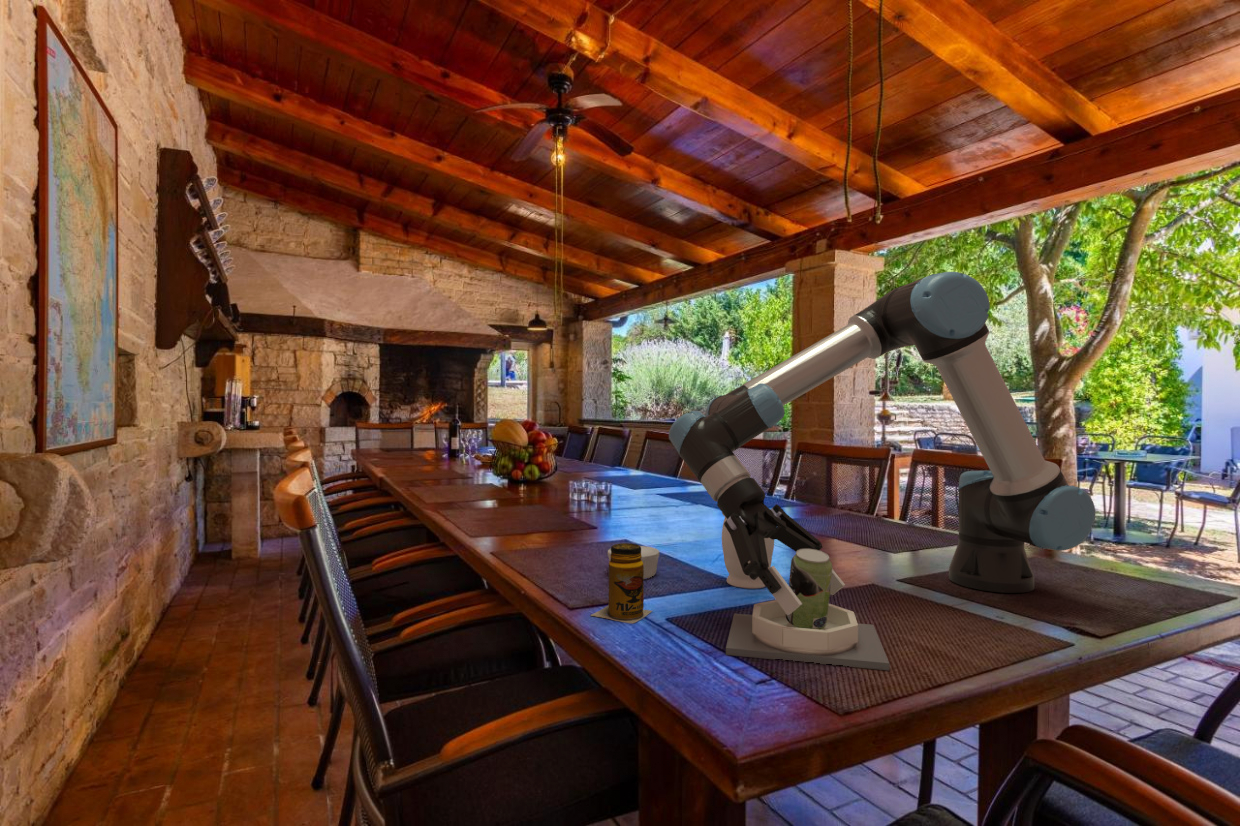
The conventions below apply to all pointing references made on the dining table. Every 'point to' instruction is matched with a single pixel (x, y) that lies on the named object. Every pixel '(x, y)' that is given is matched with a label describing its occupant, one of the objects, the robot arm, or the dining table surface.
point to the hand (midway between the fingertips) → (817, 599)
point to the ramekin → (646, 560)
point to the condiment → (625, 585)
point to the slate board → (860, 656)
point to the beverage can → (810, 588)
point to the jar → (733, 563)
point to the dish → (804, 630)
